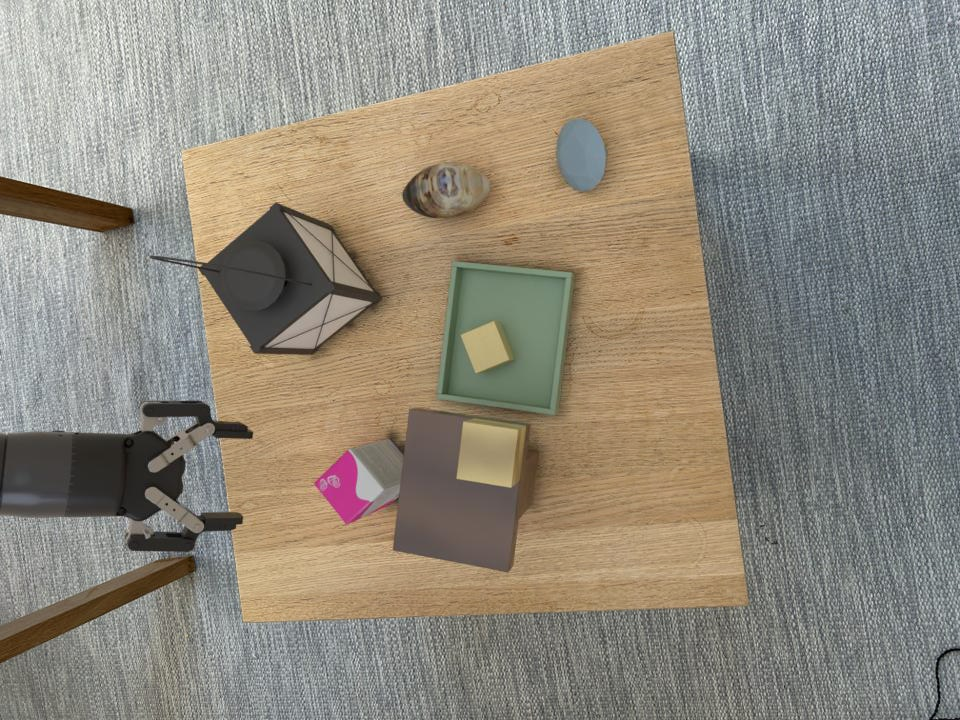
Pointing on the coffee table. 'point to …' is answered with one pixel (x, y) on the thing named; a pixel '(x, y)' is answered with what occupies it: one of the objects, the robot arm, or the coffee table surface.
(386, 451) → the supplement box
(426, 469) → the butter stand
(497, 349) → the butter pat
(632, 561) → the coffee table surface
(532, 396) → the butter dish
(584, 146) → the blue-grey stone
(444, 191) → the seashell
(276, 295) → the lantern
